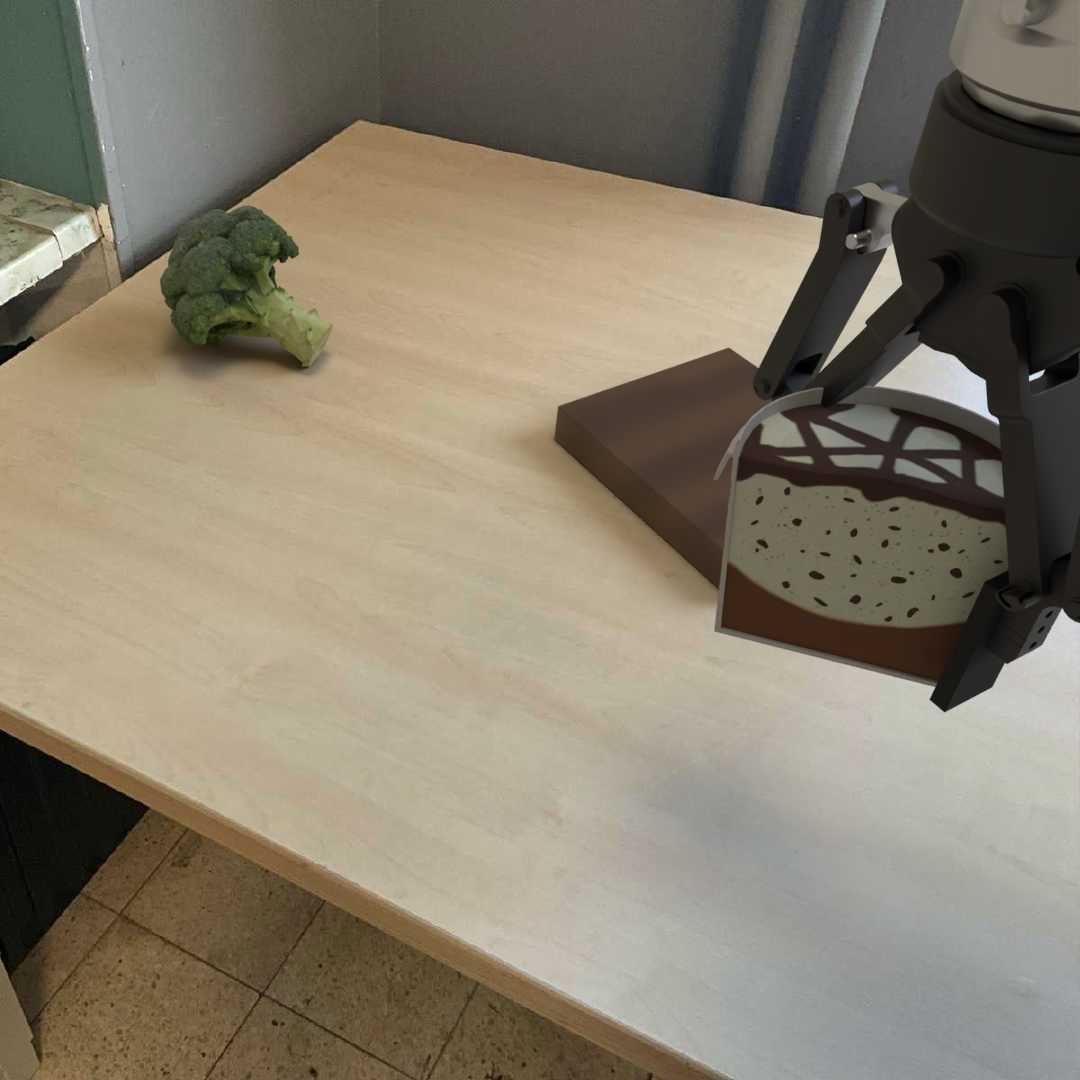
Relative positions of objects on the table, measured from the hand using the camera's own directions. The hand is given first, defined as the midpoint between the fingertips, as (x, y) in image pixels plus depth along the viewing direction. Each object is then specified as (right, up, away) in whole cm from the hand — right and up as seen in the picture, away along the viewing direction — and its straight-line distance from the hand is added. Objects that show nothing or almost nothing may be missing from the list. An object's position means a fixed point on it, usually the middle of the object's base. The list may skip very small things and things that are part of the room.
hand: (869, 618), depth 50 cm
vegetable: (-30, +20, +47) cm, 59 cm away
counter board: (+4, +8, +32) cm, 34 cm away
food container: (-1, 0, +1) cm, 2 cm away
